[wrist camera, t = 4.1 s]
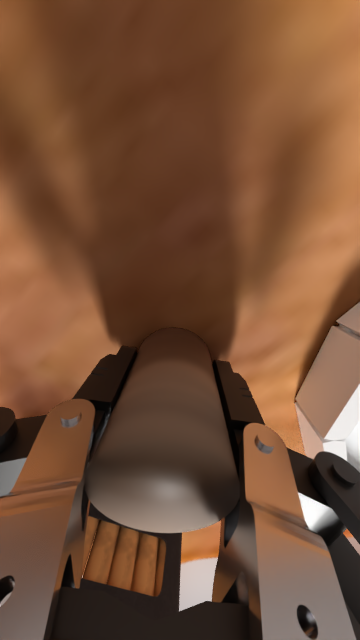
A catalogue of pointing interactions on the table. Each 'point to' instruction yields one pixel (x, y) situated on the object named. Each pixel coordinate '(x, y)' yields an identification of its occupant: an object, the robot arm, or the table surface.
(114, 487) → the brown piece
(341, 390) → the ring tray
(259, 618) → the robot arm
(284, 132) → the table surface
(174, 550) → the ammunition clip
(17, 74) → the table surface
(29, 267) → the table surface
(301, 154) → the table surface
